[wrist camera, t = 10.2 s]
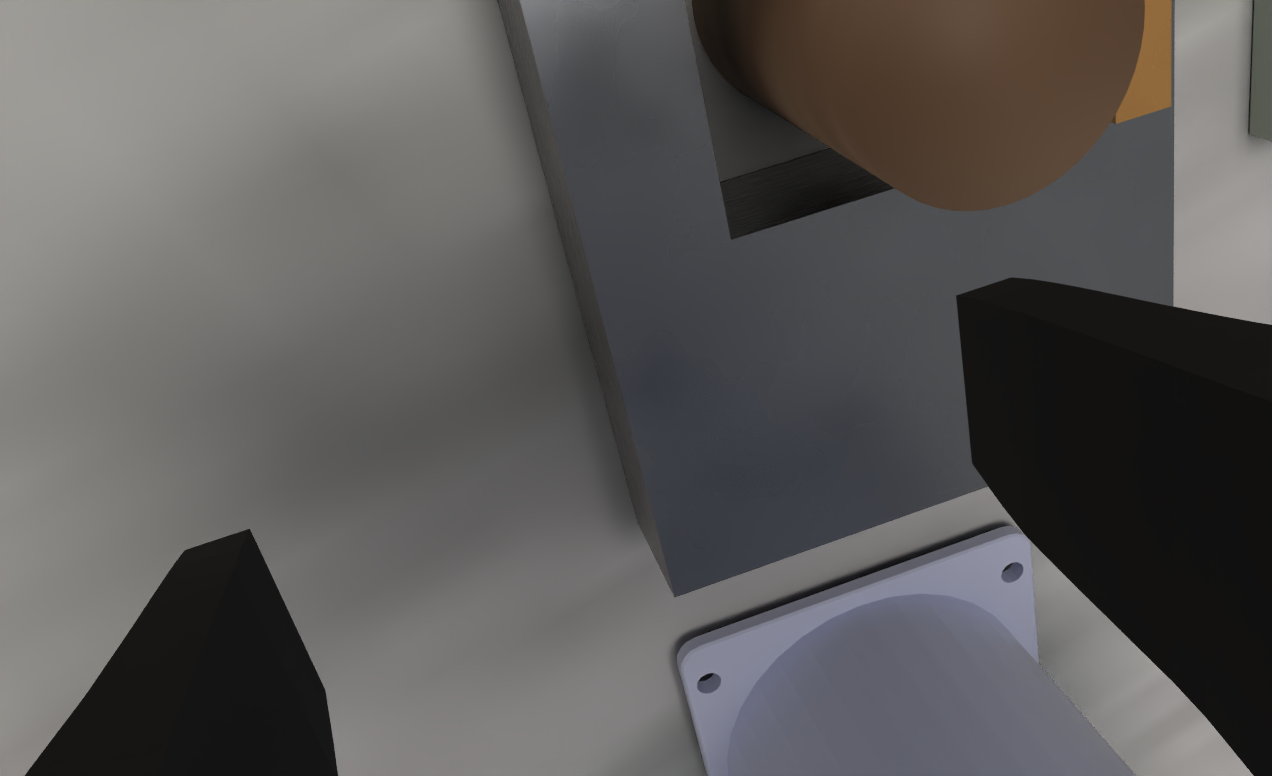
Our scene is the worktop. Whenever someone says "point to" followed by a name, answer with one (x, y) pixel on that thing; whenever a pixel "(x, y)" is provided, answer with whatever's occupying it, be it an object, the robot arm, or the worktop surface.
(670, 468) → the hole plate
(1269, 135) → the pad
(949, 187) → the peg
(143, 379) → the worktop surface
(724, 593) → the worktop surface
